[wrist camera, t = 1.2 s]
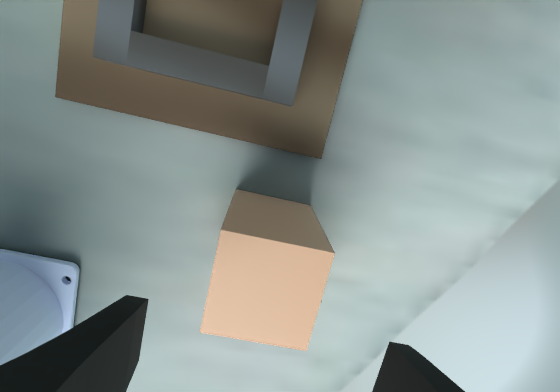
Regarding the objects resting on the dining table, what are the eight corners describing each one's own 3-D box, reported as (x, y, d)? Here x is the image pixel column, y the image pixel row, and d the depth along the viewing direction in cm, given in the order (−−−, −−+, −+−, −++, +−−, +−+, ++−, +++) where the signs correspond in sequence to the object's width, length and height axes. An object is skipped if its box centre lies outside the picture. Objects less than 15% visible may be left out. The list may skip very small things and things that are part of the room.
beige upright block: (292, 273, 21) (306, 351, 14) (221, 259, 20) (199, 332, 14) (310, 205, 20) (334, 253, 13) (235, 188, 19) (220, 229, 13)
